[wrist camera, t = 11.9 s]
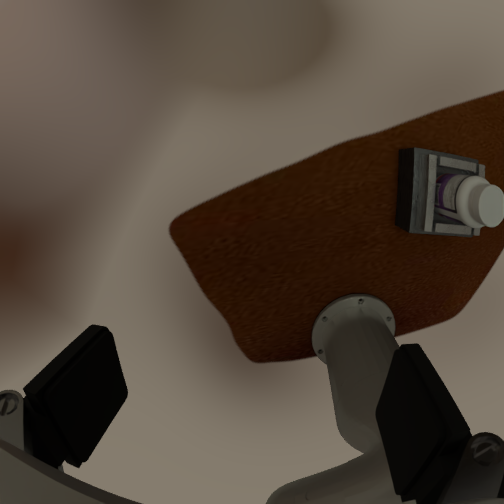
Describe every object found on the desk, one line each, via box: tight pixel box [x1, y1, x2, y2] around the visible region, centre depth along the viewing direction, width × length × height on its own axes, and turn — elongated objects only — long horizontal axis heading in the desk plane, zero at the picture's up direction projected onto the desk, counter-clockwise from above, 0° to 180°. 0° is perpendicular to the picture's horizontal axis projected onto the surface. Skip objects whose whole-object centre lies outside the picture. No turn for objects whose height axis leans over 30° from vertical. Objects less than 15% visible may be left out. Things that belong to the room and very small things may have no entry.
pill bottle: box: [434, 173, 504, 228], centre depth 25 cm, size 5×5×10 cm
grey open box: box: [395, 148, 485, 237], centre depth 31 cm, size 10×10×8 cm
